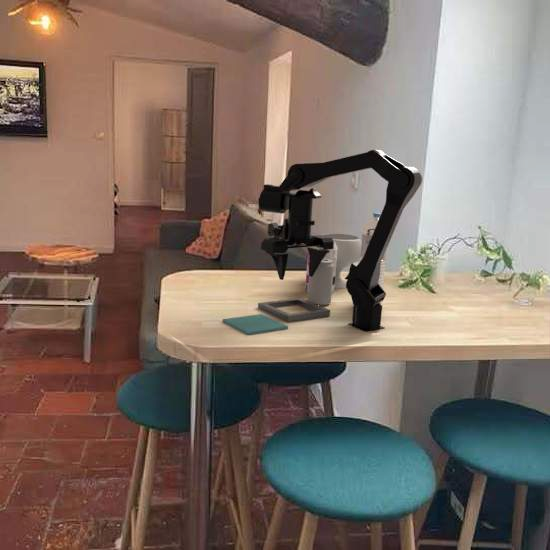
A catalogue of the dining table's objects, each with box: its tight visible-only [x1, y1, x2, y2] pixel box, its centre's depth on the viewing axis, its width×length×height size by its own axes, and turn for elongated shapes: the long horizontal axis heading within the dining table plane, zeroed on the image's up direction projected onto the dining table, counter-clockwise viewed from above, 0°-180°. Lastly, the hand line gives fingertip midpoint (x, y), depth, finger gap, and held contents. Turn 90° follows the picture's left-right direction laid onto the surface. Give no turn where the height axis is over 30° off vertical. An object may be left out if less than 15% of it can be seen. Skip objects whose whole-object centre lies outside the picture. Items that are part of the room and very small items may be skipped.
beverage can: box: [306, 258, 334, 307], centre depth 166 cm, size 6×6×12 cm
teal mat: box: [222, 313, 289, 336], centre depth 145 cm, size 11×11×1 cm
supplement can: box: [304, 242, 337, 294], centre depth 177 cm, size 8×8×15 cm
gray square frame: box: [257, 297, 331, 323], centre depth 158 cm, size 13×13×2 cm
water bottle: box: [359, 212, 387, 305], centre depth 166 cm, size 7×7×25 cm
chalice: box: [321, 233, 362, 289], centre depth 188 cm, size 14×14×15 cm
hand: (296, 278), depth 156 cm, fingers open, 9 cm apart
